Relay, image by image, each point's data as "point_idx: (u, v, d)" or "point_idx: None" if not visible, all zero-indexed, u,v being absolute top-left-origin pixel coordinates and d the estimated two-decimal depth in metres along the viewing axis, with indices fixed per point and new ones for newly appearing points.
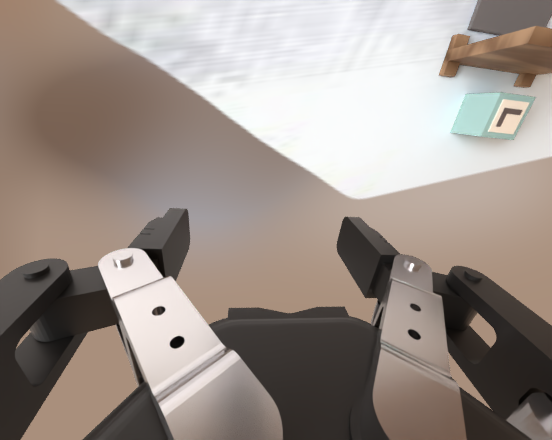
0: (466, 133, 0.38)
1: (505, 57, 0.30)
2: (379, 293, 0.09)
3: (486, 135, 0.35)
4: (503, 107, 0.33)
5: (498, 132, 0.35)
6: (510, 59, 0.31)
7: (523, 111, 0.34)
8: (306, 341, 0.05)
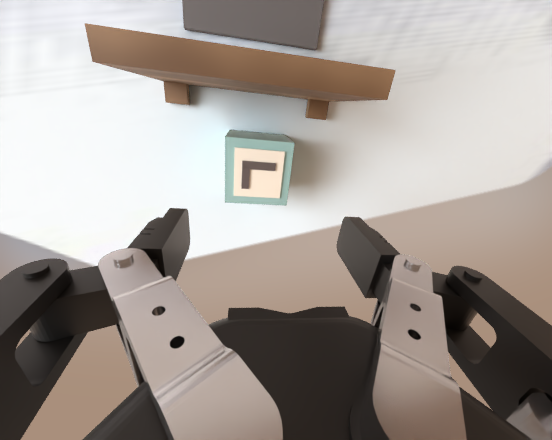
0: None
1: (192, 80, 0.17)
2: (379, 293, 0.09)
3: (234, 200, 0.22)
4: (239, 160, 0.20)
5: (253, 196, 0.22)
6: (210, 83, 0.17)
7: (280, 165, 0.21)
8: (306, 341, 0.05)
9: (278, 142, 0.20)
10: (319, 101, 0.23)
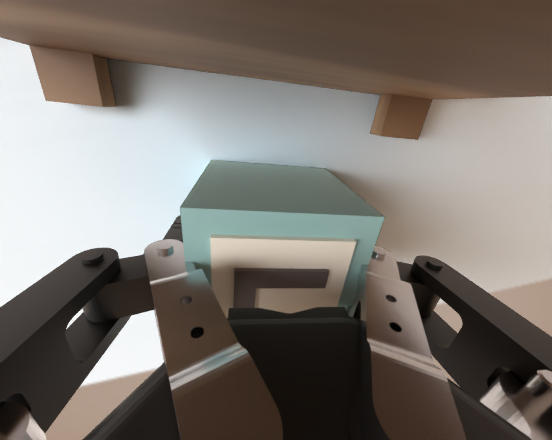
0: None
1: (4, 1, 0.04)
2: None
3: None
4: (227, 267, 0.07)
5: None
6: (99, 23, 0.04)
7: (338, 273, 0.08)
8: (306, 341, 0.05)
9: (339, 217, 0.07)
10: (411, 99, 0.10)
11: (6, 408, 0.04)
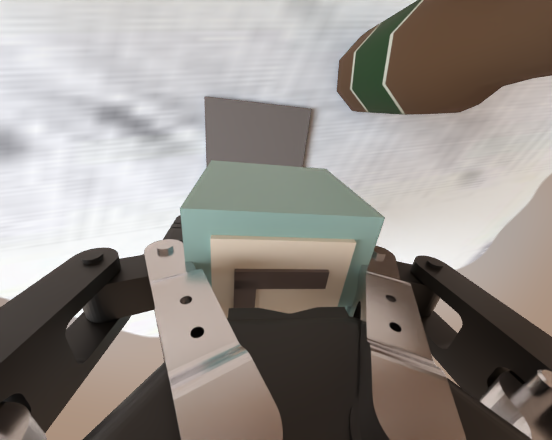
0: None
1: None
2: None
3: None
4: (227, 268, 0.07)
5: None
6: None
7: (339, 274, 0.08)
8: (306, 341, 0.05)
9: (339, 218, 0.07)
10: None
11: (6, 409, 0.04)
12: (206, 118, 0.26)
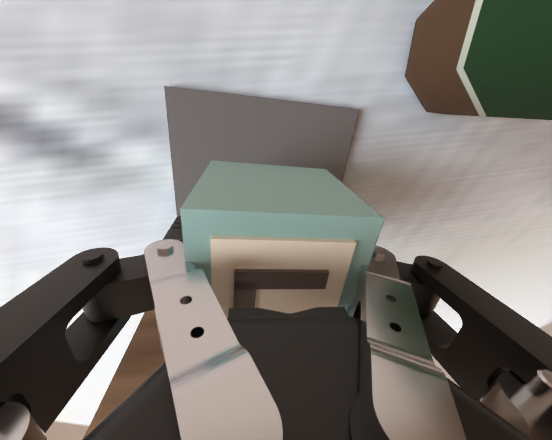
0: None
1: None
2: None
3: None
4: (227, 268, 0.07)
5: None
6: None
7: (338, 274, 0.08)
8: (306, 341, 0.05)
9: (339, 218, 0.07)
10: None
11: (6, 408, 0.04)
12: (170, 127, 0.14)
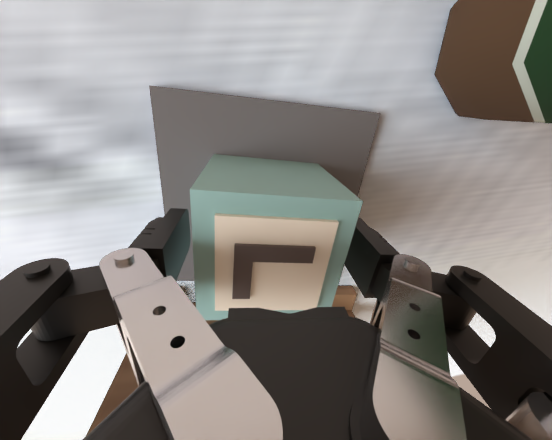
0: None
1: None
2: (378, 293, 0.09)
3: (217, 316, 0.10)
4: (228, 242, 0.08)
5: (259, 306, 0.10)
6: None
7: (324, 251, 0.09)
8: (306, 341, 0.05)
9: (324, 200, 0.08)
10: None
11: None
12: (158, 134, 0.12)
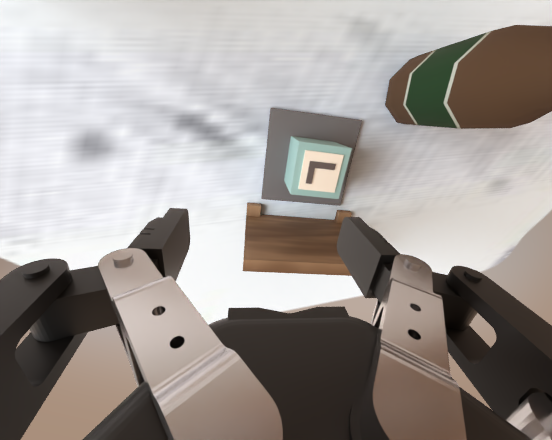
0: (287, 186, 0.29)
1: None
2: (379, 293, 0.09)
3: (298, 193, 0.27)
4: (308, 160, 0.25)
5: (313, 190, 0.27)
6: None
7: (338, 166, 0.26)
8: (306, 341, 0.05)
9: (339, 147, 0.25)
10: None
11: None
12: (270, 126, 0.29)
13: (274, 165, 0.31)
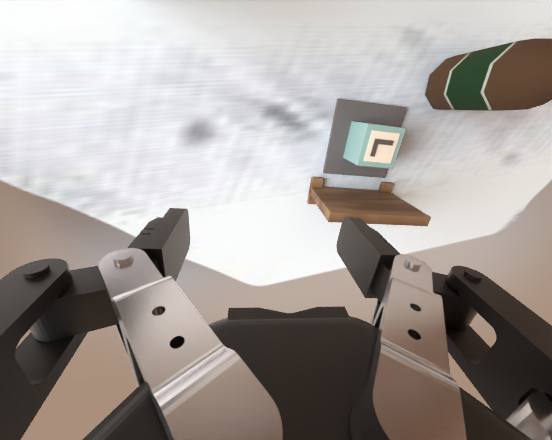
0: (350, 160, 0.38)
1: None
2: (379, 293, 0.09)
3: (363, 164, 0.36)
4: (373, 138, 0.34)
5: (375, 161, 0.36)
6: None
7: (395, 142, 0.34)
8: (306, 341, 0.05)
9: (397, 127, 0.34)
10: None
11: None
12: (336, 114, 0.37)
13: (336, 145, 0.40)
